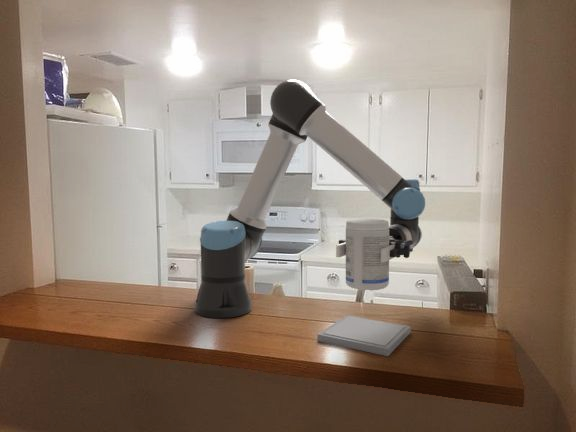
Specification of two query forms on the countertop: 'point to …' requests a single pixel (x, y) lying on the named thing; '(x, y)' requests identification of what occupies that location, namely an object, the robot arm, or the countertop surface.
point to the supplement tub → (366, 254)
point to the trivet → (365, 335)
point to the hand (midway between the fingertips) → (359, 253)
